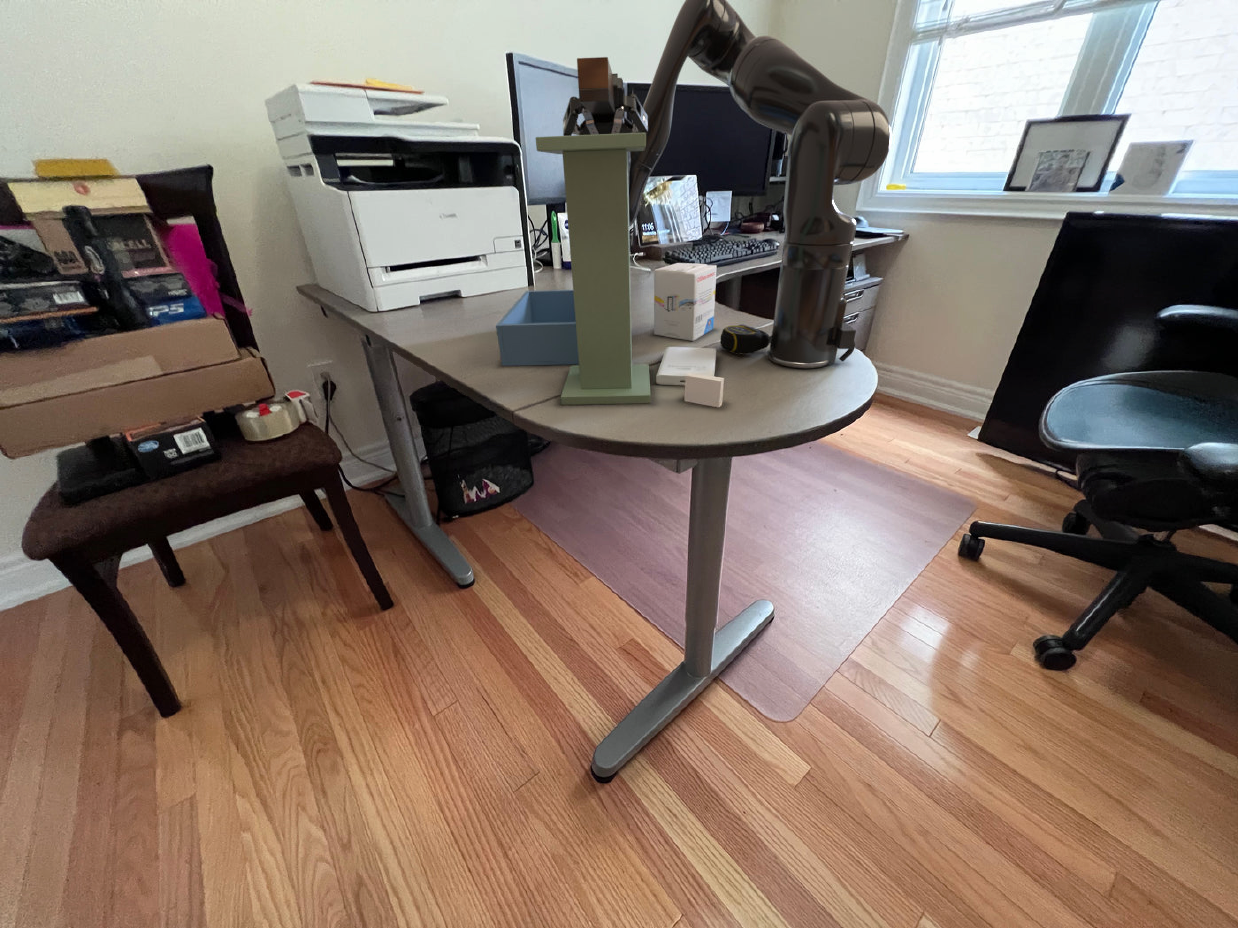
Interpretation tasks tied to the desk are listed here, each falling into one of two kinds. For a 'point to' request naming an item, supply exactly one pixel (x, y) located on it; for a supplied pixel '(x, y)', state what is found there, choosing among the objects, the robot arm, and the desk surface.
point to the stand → (600, 267)
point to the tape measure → (743, 339)
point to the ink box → (684, 300)
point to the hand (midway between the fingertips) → (600, 81)
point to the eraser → (704, 389)
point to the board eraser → (596, 85)
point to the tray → (539, 330)
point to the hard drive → (685, 364)
